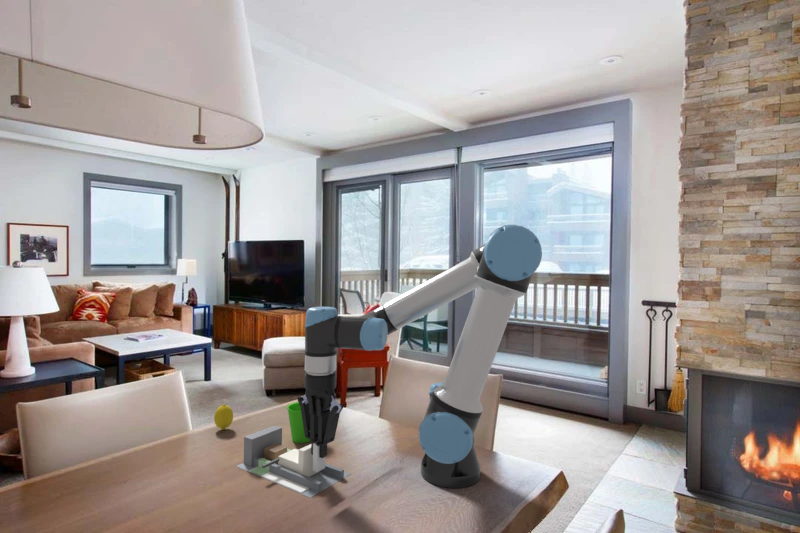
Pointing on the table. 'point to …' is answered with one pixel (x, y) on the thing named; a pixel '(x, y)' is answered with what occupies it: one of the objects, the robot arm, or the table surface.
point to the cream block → (296, 461)
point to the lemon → (223, 417)
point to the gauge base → (282, 475)
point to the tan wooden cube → (274, 452)
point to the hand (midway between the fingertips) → (318, 469)
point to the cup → (296, 423)
